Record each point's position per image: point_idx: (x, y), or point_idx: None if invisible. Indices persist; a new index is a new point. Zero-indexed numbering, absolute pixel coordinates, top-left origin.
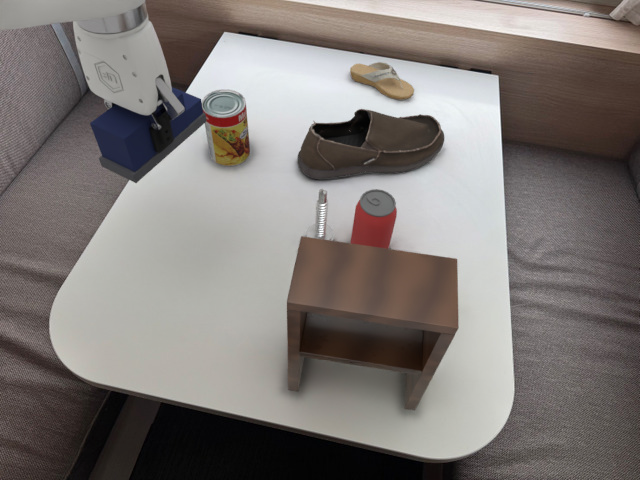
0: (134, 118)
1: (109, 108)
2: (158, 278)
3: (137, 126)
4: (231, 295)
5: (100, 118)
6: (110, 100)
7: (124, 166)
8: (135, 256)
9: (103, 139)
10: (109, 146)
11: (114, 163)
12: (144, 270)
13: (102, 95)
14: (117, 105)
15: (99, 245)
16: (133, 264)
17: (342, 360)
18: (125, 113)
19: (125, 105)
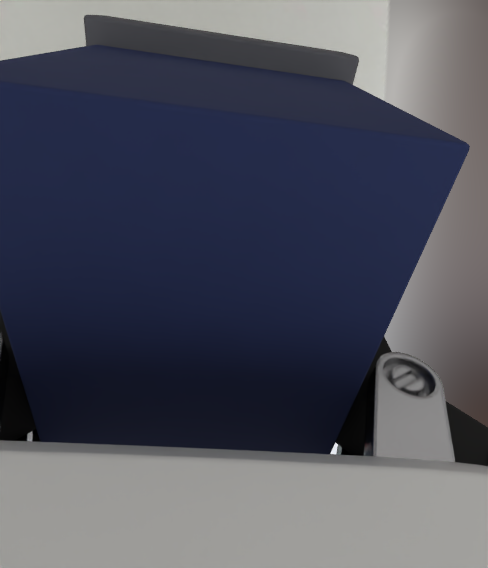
0: (119, 353)
1: (397, 358)
2: (199, 4)
3: (13, 294)
4: (28, 37)
5: (388, 247)
6: (303, 483)
7: (173, 56)
8: (281, 42)
9: (306, 98)
10: (254, 82)
11: (248, 58)
12: (241, 12)
13: (436, 512)
14: (333, 400)
15: (374, 34)
16: (273, 17)
17: None
18: (226, 366)
19: (10, 506)
